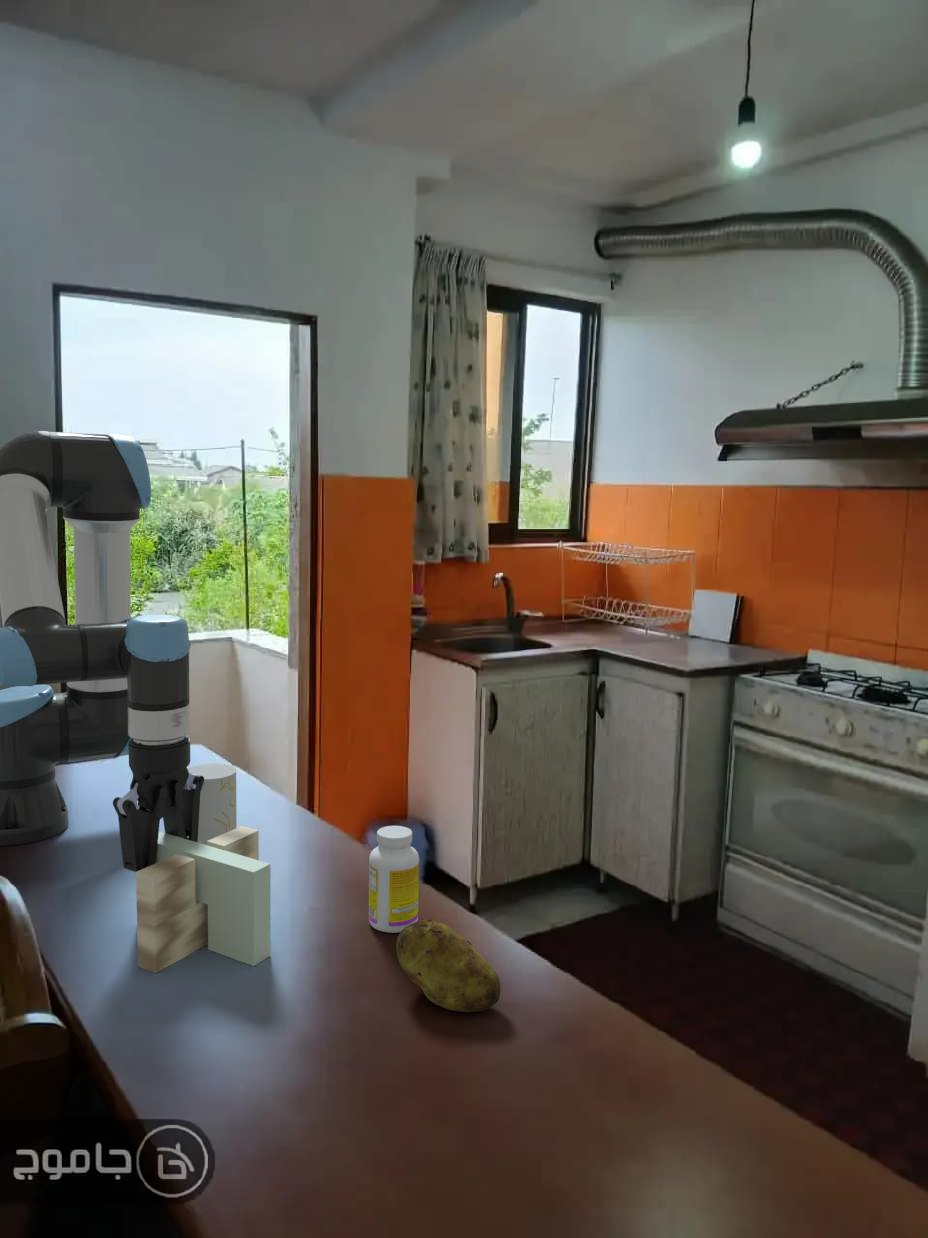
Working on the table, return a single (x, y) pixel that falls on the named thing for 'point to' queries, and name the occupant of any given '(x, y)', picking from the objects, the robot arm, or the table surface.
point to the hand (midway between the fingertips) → (162, 910)
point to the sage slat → (228, 897)
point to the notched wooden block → (178, 903)
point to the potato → (447, 967)
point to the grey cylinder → (216, 800)
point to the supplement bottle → (393, 880)
